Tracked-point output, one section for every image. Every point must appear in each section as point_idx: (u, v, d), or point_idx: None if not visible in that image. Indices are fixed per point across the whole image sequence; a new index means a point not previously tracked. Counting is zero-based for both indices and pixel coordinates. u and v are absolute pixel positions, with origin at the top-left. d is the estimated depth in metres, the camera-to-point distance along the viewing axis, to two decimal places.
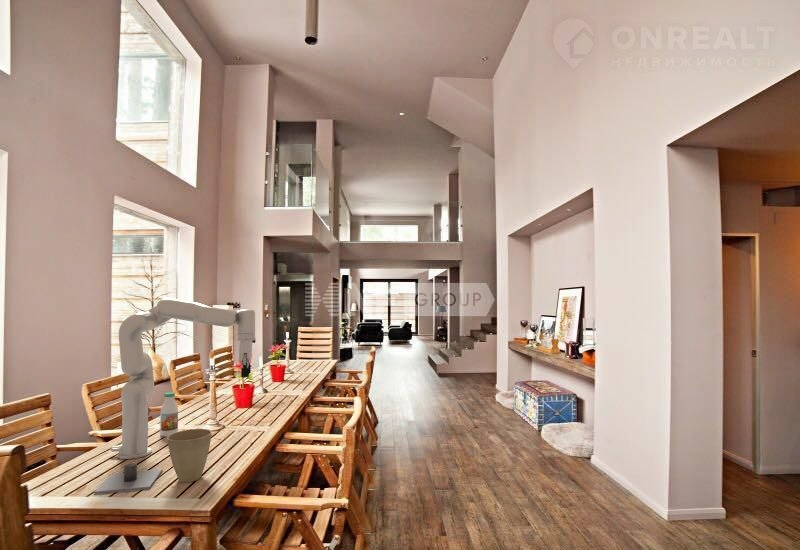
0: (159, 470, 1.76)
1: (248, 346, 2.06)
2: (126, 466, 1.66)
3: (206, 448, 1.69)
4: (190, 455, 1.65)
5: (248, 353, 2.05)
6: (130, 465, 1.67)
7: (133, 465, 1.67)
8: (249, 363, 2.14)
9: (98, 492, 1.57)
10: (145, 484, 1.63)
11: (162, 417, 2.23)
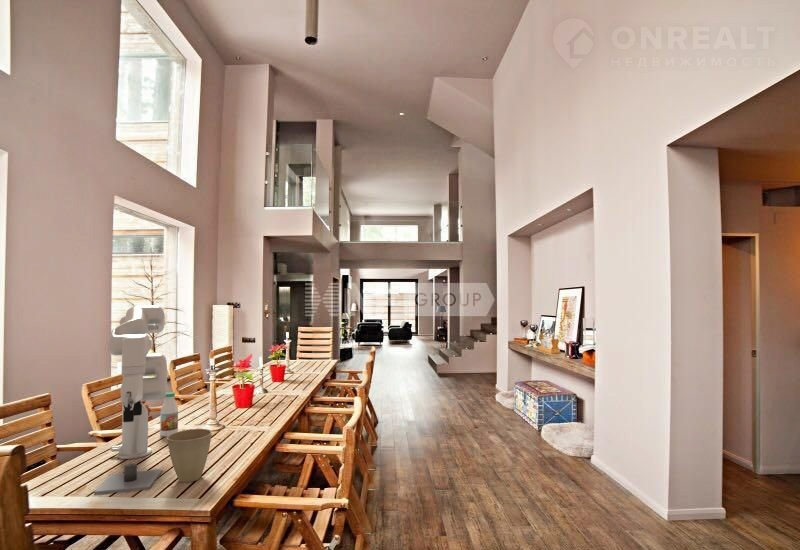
0: (159, 470, 1.76)
1: (133, 383, 1.65)
2: (126, 466, 1.66)
3: (206, 448, 1.69)
4: (190, 455, 1.65)
5: (133, 392, 1.65)
6: (130, 465, 1.67)
7: (133, 465, 1.67)
8: (140, 402, 1.74)
9: (98, 492, 1.57)
10: (145, 484, 1.63)
11: (162, 417, 2.23)
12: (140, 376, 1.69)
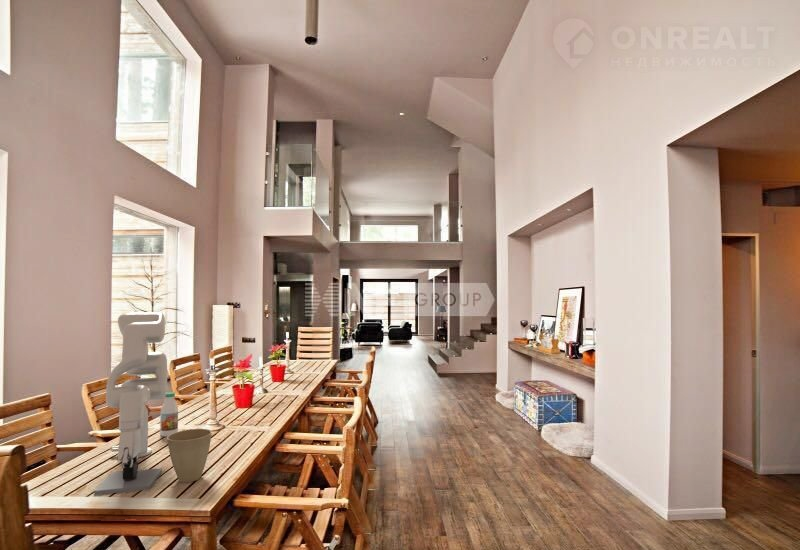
0: (159, 469, 1.76)
1: (130, 438, 1.64)
2: None
3: (206, 448, 1.69)
4: (190, 455, 1.65)
5: (130, 447, 1.63)
6: None
7: (133, 464, 1.67)
8: (136, 460, 1.70)
9: (98, 491, 1.57)
10: (145, 483, 1.63)
11: (162, 417, 2.23)
12: (138, 430, 1.68)
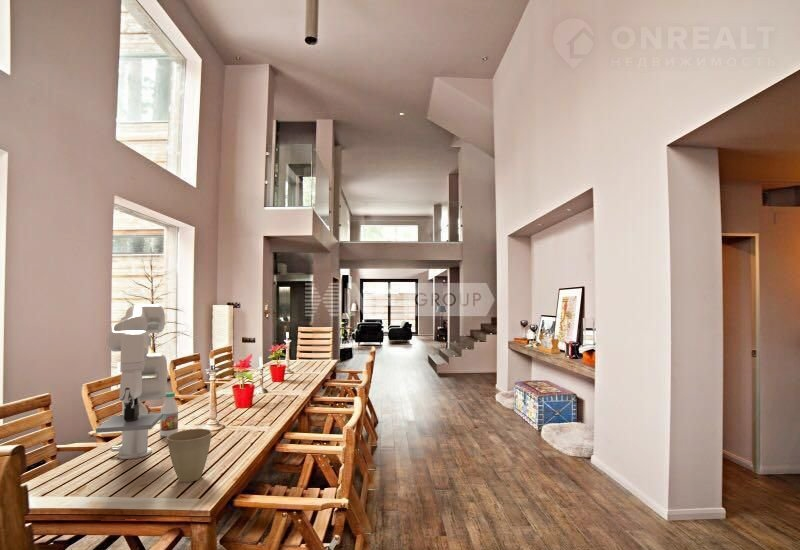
0: (160, 413, 1.77)
1: (132, 379, 1.65)
2: None
3: (206, 448, 1.69)
4: (190, 455, 1.65)
5: (131, 388, 1.64)
6: None
7: (134, 406, 1.69)
8: (137, 403, 1.71)
9: (100, 429, 1.58)
10: (146, 423, 1.64)
11: (162, 417, 2.23)
12: (139, 372, 1.69)
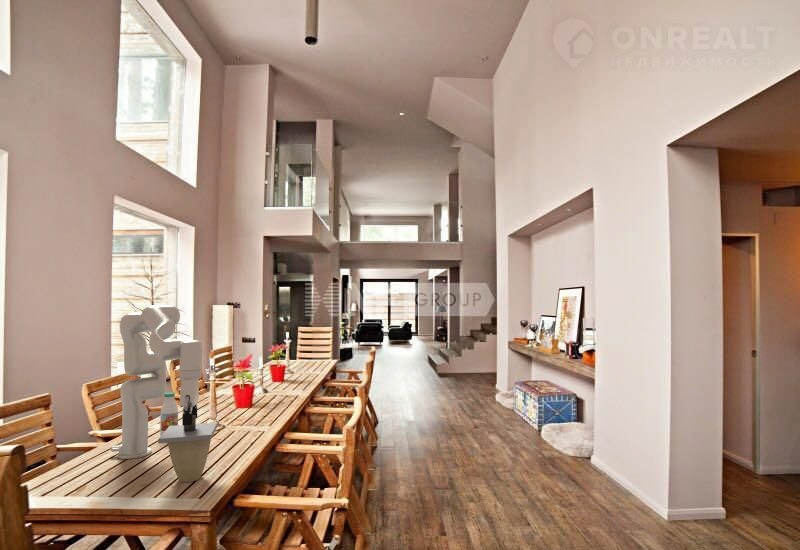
0: (215, 423, 1.80)
1: (191, 386, 1.67)
2: None
3: (206, 448, 1.69)
4: (190, 455, 1.65)
5: (191, 395, 1.67)
6: None
7: (192, 416, 1.71)
8: (195, 405, 1.76)
9: (162, 439, 1.61)
10: (205, 433, 1.67)
11: (162, 417, 2.23)
12: (197, 380, 1.72)
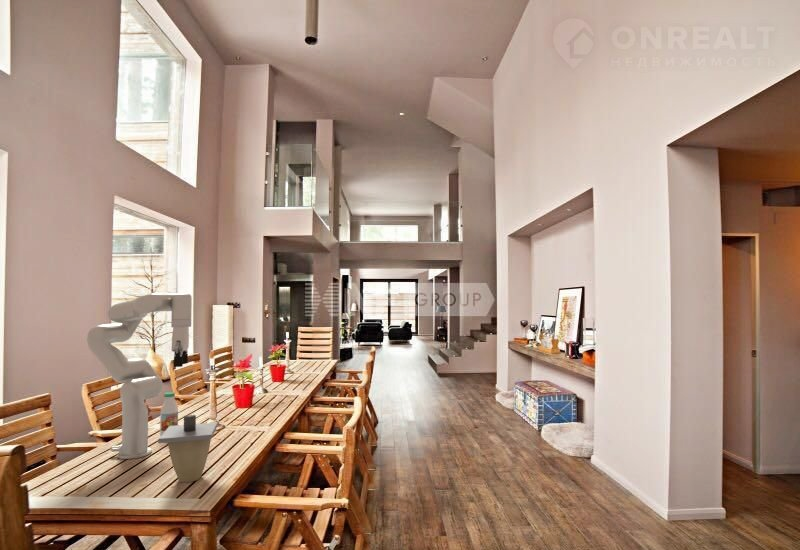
0: (215, 423, 1.80)
1: (182, 333, 1.89)
2: (186, 417, 1.70)
3: (206, 448, 1.69)
4: (190, 455, 1.65)
5: (182, 341, 1.88)
6: (189, 416, 1.71)
7: (192, 416, 1.71)
8: (186, 352, 1.97)
9: (162, 439, 1.61)
10: (206, 433, 1.67)
11: (162, 417, 2.23)
12: (187, 328, 1.93)
